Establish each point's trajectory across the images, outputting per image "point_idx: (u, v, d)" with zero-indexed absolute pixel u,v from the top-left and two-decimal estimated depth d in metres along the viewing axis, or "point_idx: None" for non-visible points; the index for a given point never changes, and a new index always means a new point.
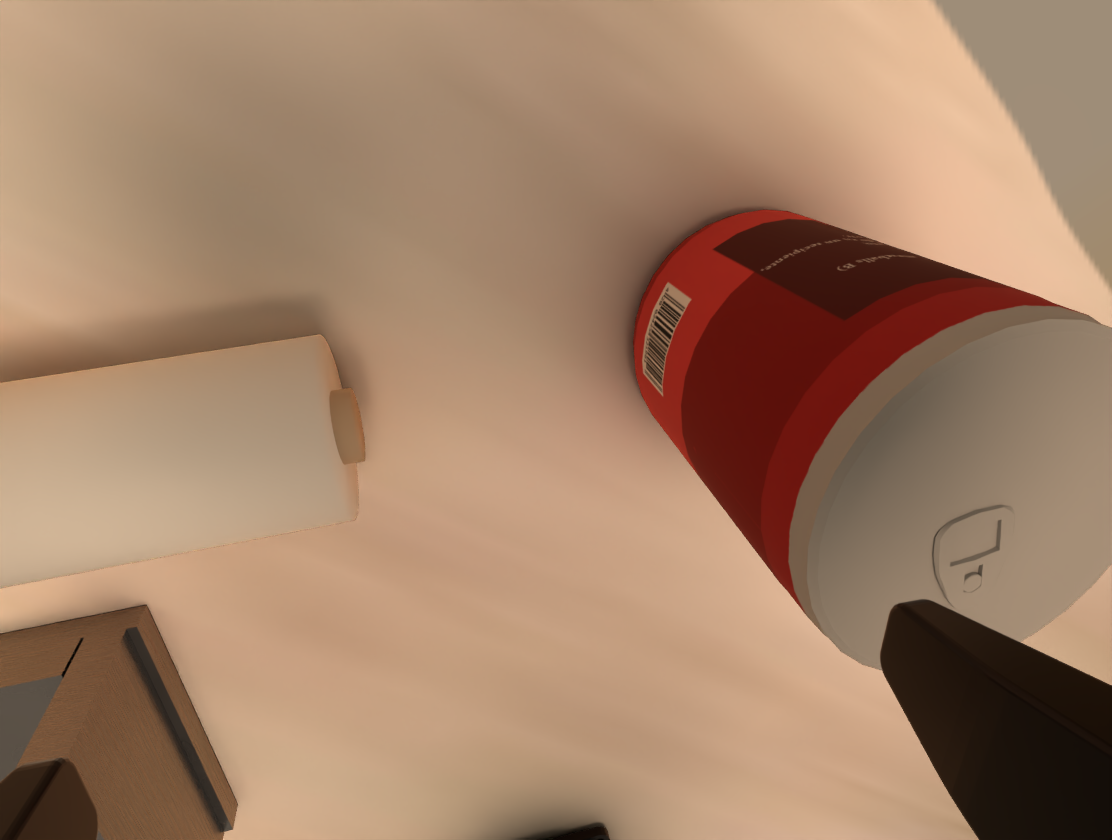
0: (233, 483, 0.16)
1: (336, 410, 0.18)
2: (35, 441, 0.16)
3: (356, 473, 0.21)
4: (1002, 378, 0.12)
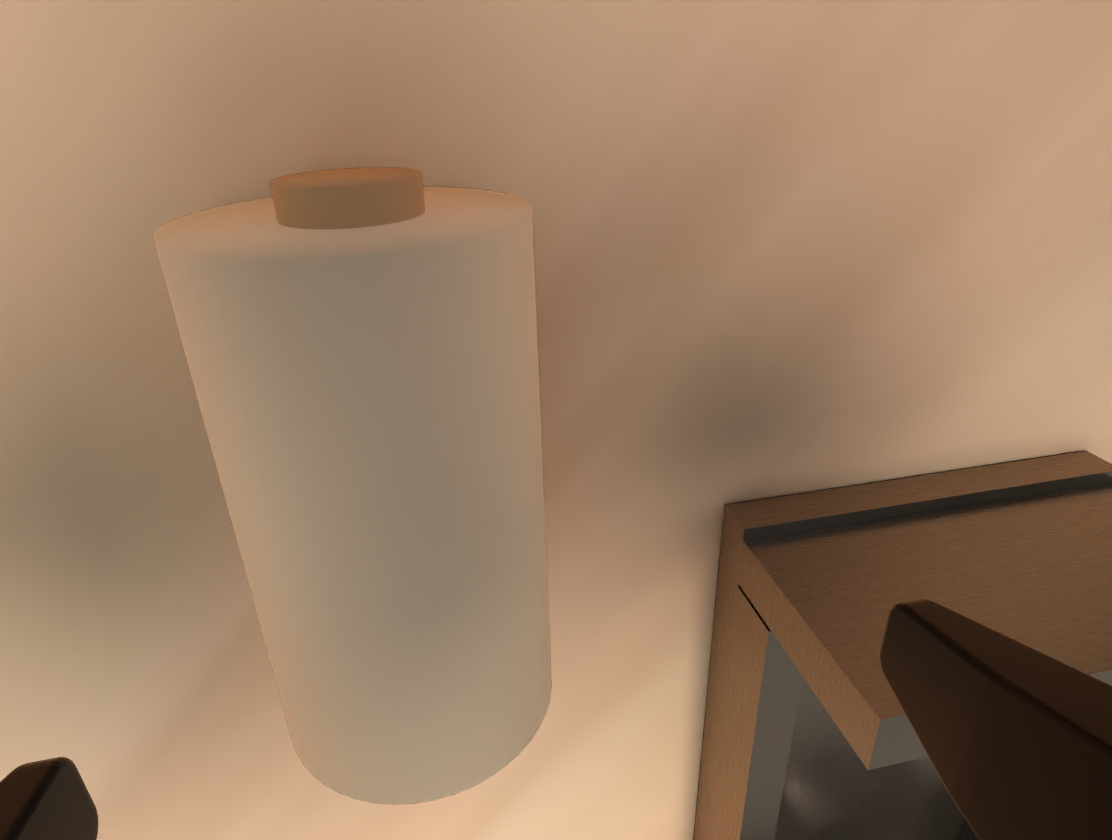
0: (266, 433, 0.09)
1: (275, 210, 0.09)
2: None
3: (518, 202, 0.10)
4: None
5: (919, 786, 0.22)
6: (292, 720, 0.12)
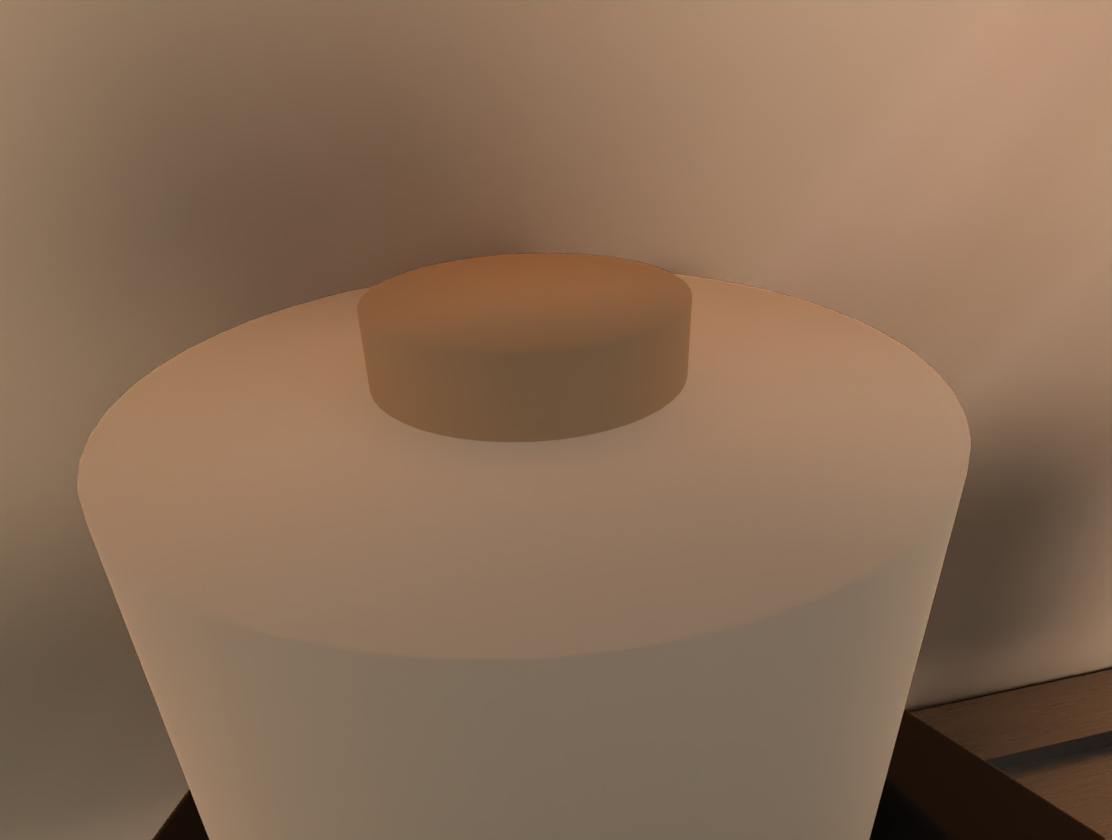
0: None
1: (409, 399, 0.04)
2: None
3: (745, 291, 0.06)
4: None
5: None
6: None
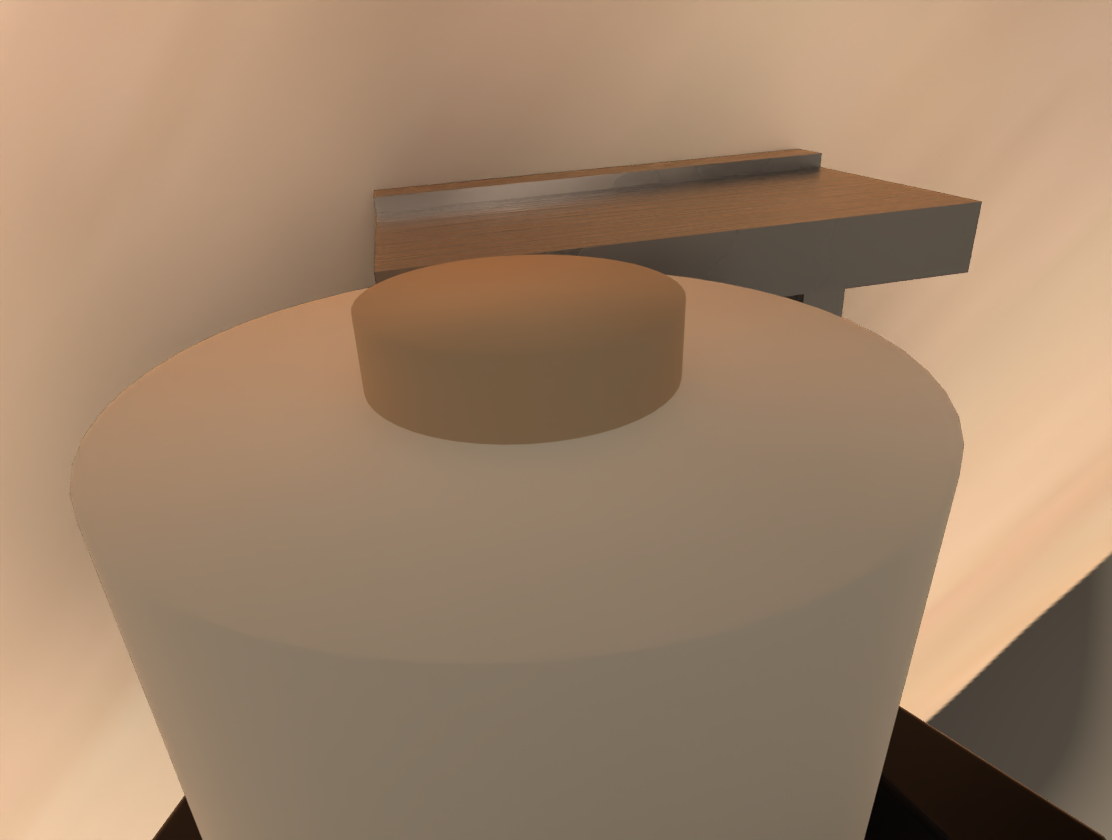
0: None
1: (402, 402, 0.04)
2: None
3: (741, 293, 0.06)
4: None
5: None
6: None
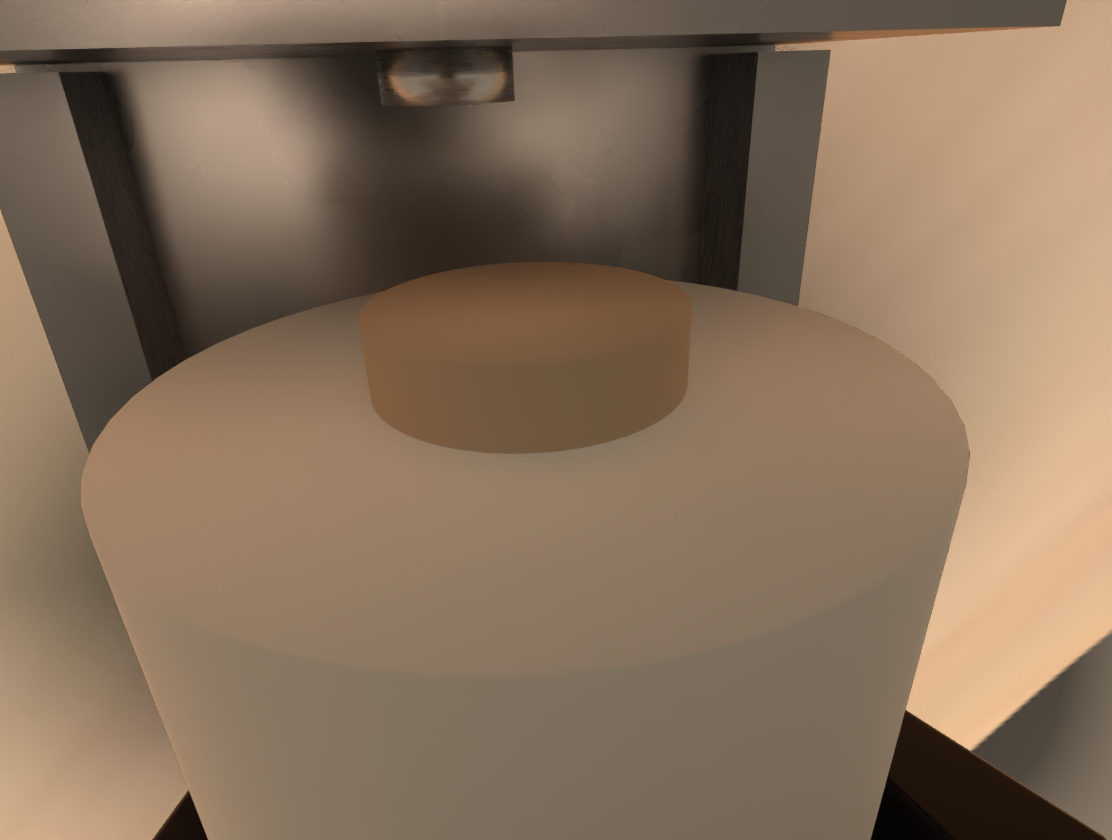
0: None
1: (411, 411, 0.04)
2: None
3: (745, 299, 0.06)
4: None
5: None
6: None
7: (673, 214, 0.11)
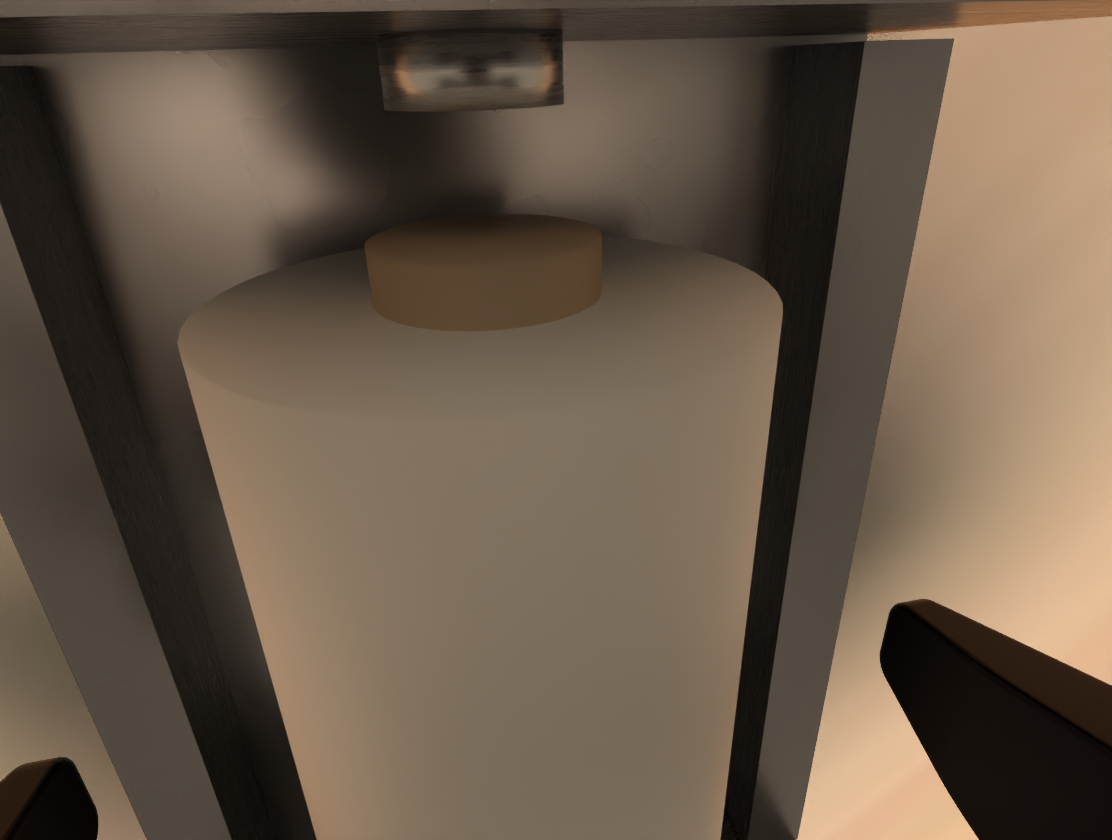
0: (531, 690, 0.05)
1: (399, 304, 0.06)
2: None
3: (664, 247, 0.08)
4: None
5: None
6: None
7: (736, 239, 0.09)
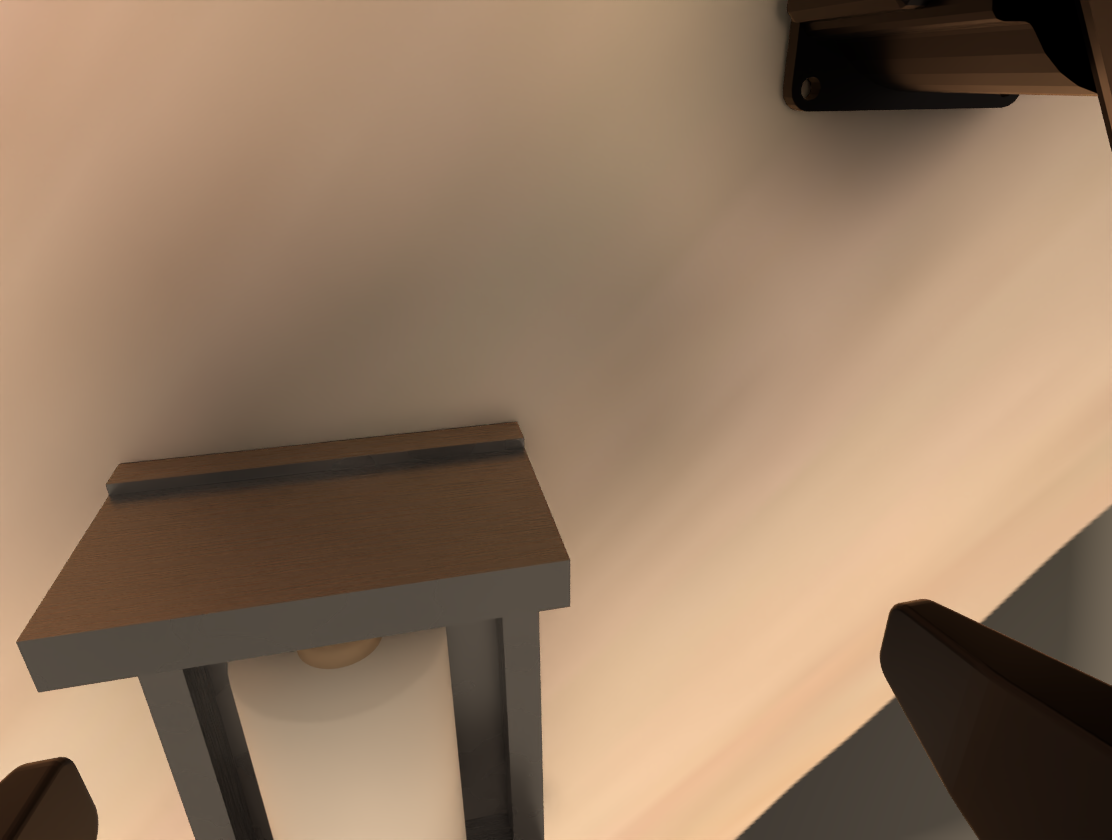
0: (339, 792, 0.16)
1: (303, 656, 0.16)
2: None
3: None
4: None
5: None
6: None
7: None
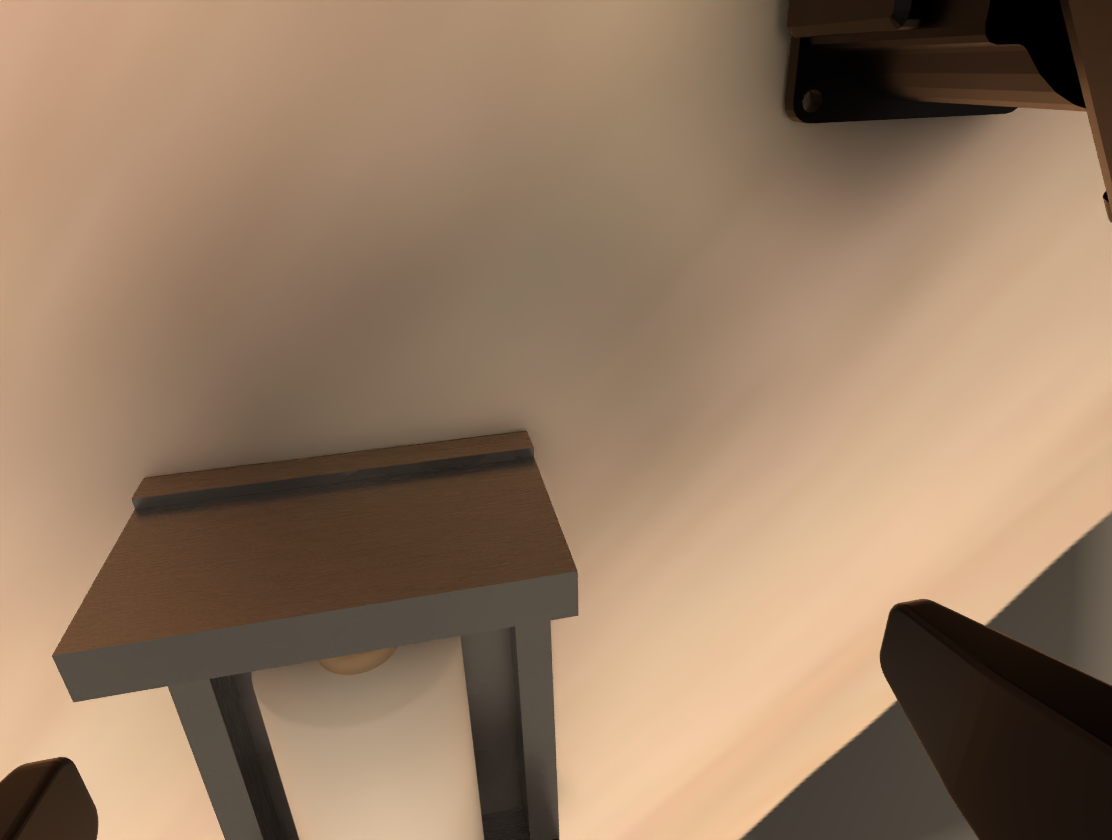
0: (360, 792, 0.16)
1: (323, 663, 0.17)
2: None
3: None
4: None
5: None
6: None
7: None
